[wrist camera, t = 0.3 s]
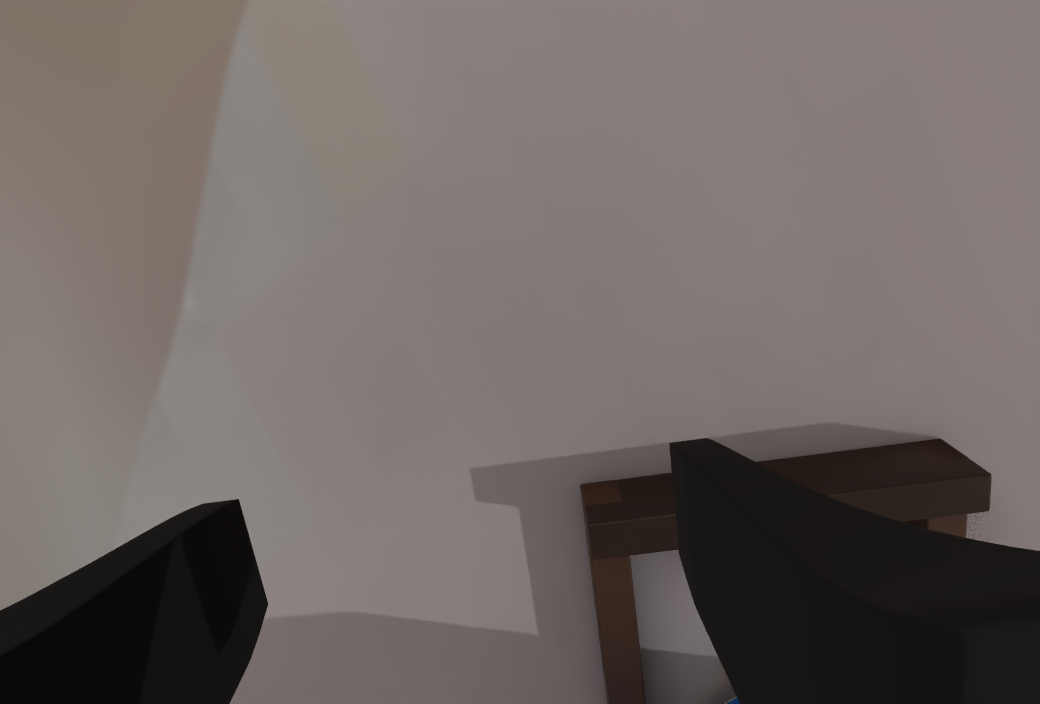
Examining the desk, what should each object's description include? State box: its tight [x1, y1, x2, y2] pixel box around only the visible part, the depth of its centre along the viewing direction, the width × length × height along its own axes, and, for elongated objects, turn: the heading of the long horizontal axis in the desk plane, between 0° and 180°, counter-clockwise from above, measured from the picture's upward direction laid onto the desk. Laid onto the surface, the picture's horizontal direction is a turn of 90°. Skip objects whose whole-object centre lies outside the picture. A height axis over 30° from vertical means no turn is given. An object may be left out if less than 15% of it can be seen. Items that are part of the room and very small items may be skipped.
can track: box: [580, 439, 991, 704], centre depth 23 cm, size 15×11×2 cm
